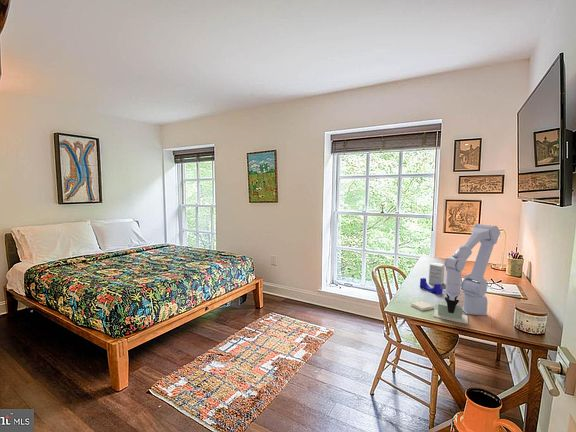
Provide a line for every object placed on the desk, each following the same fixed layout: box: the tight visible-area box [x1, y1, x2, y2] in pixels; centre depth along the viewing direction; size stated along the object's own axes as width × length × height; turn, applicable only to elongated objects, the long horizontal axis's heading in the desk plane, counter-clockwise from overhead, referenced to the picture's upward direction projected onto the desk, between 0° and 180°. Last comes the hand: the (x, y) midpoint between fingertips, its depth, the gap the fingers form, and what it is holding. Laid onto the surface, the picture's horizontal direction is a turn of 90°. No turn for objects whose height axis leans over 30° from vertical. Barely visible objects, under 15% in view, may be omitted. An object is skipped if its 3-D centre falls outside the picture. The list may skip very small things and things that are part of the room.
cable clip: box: [419, 277, 443, 295], centre depth 174 cm, size 12×4×6 cm, turn 23°
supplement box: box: [428, 261, 445, 286], centre depth 187 cm, size 7×7×13 cm
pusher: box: [437, 301, 463, 319], centre depth 140 cm, size 10×3×5 cm, turn 60°
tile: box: [410, 300, 435, 312], centre depth 150 cm, size 2×7×8 cm
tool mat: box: [433, 308, 469, 325], centre depth 140 cm, size 14×9×1 cm, turn 60°
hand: (451, 309), depth 139 cm, fingers open, 7 cm apart
